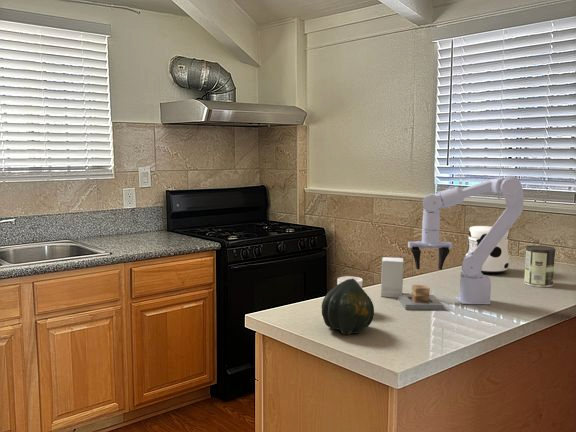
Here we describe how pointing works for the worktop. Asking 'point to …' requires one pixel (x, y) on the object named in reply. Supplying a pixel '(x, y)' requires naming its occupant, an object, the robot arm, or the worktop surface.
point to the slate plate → (410, 305)
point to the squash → (347, 308)
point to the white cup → (357, 279)
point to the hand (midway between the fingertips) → (428, 268)
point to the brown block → (420, 294)
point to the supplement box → (392, 277)
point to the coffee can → (539, 266)
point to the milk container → (498, 256)
